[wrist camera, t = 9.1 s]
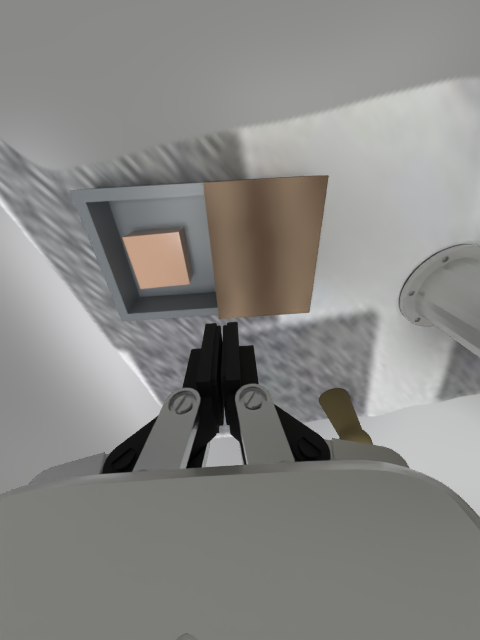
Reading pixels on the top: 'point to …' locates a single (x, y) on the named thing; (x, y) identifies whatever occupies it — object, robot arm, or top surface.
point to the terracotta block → (159, 257)
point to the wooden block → (264, 243)
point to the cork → (343, 416)
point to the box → (149, 214)
